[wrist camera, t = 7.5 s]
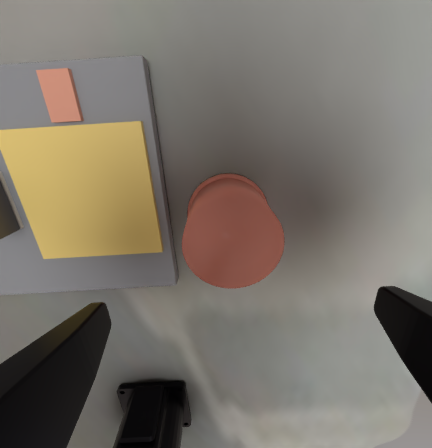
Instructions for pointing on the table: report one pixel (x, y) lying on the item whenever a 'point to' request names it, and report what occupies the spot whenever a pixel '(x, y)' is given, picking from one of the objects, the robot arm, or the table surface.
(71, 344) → the robot arm
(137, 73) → the panel
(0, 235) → the breaker
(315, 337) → the table surface
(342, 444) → the table surface
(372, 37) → the table surface
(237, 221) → the cap
